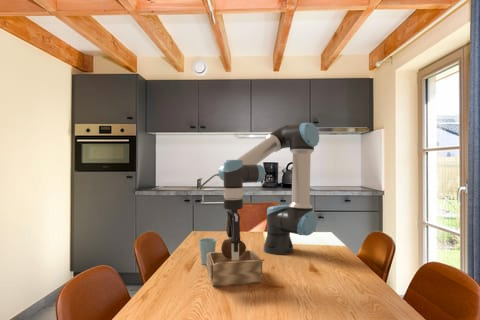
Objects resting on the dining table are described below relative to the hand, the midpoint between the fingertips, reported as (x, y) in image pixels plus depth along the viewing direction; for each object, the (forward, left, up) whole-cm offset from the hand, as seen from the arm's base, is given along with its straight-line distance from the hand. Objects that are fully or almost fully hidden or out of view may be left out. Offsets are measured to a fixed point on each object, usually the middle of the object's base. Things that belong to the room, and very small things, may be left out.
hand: (233, 256), depth 123 cm
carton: (0, 0, -8) cm, 8 cm away
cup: (+8, -20, -8) cm, 23 cm away
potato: (0, 0, -1) cm, 1 cm away
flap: (0, +9, 0) cm, 9 cm away
